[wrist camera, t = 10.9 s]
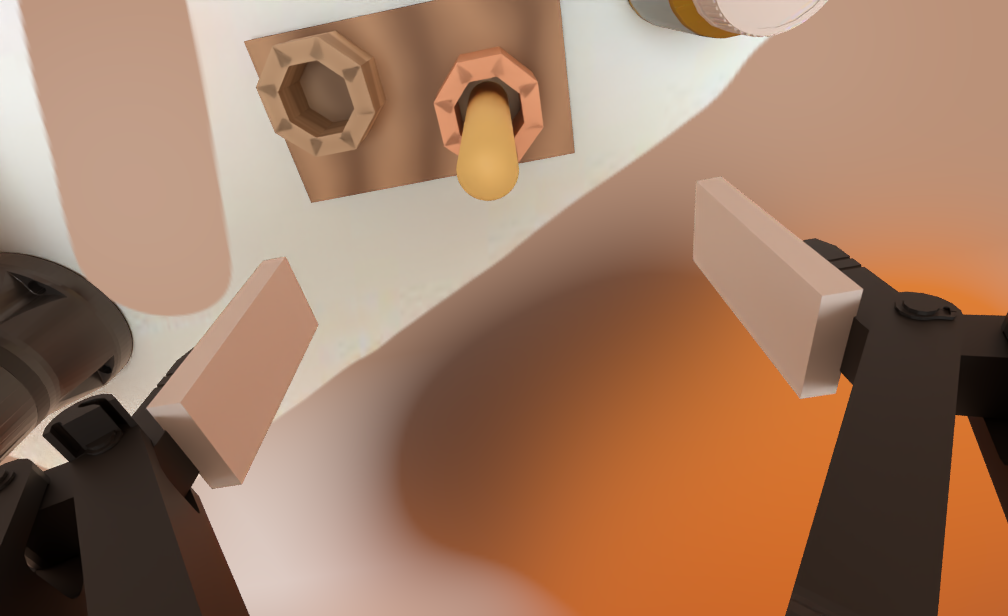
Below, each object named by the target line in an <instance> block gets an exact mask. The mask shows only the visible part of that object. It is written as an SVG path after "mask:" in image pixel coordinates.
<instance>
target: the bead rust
mask: <svg viewBox="0 0 1008 616" xmlns="http://www.w3.org/2000/svg"><path fill="white" fill-rule="evenodd" d="M493 77H498V78H499V79H501V80H502V81H503V82H505V83H506V84H507V85H509V86H510V87H511V88H513V89H514V90H515V91H517V92H518V97H519V104H520V110H519V112H518V113H517V115H516V116H515V118H514V119H513V121H512V127H513V133H514V140H515V146H516V153H517V159H518V162H519V161H520V160H521V158H522V157H523V156H524V154H525V153H526V151H527V150H528V149H529V147H530V146H531V144H532V143H533V141H534V140H535V139H536V137H537V136H538V134H539V133H540V132H541V130H542V129H543V127H544V126H543V119H542V111H541V103H540V96H539V88H538V82H537V80H536V78H535V76H534V74H533V73H532V71H530V70H529V69H528V68H526V67H525V66H524V65H523V64H521V63H520V62H519V61H517V60H516V59H515V58H514V57H512V56H511V55H510V54H508V53H507V52H506V51H505V50H503V49H502V48H501V47H494V48H489V49H484V50H480V51H475V52H470V53H465V54H460V55H459V56H458V58H457V60H456V62H455V63H454V65H453V67H452V69H451V70H450V72H449V74H448V75H447V77H446V79H445V81H444V82H443V84H442V86H441V88H440V89H439V91H438V94H437V96H436V98H435V101H434V107H435V111H436V115H437V119H438V123H439V127H440V131H441V135H442V139H443V143H444V147H446V148H447V149H449V150H450V151H452V152H453V153H455V154H456V155H459V150H460V144H461V139H462V133H463V128H464V121H462V116H461V112H460V107H459V102H458V100H459V98H460V96H461V95H462V93H463V91H464V90H465V88H466V86H467V85H468V83H469V82H473V81H478V80H483V79H488V78H493Z"/></svg>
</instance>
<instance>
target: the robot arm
mask: <svg viewBox="0 0 1008 616" xmlns="http://www.w3.org/2000/svg"><path fill="white" fill-rule="evenodd" d="M694 222H695V223H694V245H693V260H694V262H695V263H696V264H697V266H698V267H699V268H700V270H701V271H702V272H703V273H704V275H705V276H706V277H707V279H708V280H709V281H710V282H711V284H712V285H713V286H714V288H715V289H716V290H717V292H718V293H719V294H720V296H721V297H722V298H723V299H724V301H725V302H726V303H727V305H728V306H729V307H730V308H731V310H732V311H733V312H734V314H735V315H736V316H737V318H738V319H739V320H740V321H741V322H742V324H743V325H744V326H745V328H746V329H747V330H748V332H749V333H750V334H751V336H752V337H753V338H754V339H755V341H756V342H757V343H758V345H759V346H760V347H761V349H762V350H763V351H764V353H765V354H766V355H767V356H768V358H769V359H770V360H771V362H772V363H773V364H774V365H775V367H776V368H777V369H778V371H779V372H780V373H781V375H782V376H783V377H784V378H785V380H786V381H787V382H788V384H789V385H790V386H791V388H792V389H793V390H794V391H795V393H796V394H797V395H798V397H799V398H800V399H802V398H809V397H815V396H822V395H829V394H835V393H836V390H837V386H838V382H839V379H840V375H841V373H842V374H843V375H844V376H845V377H846V378H847V379H848V380H849V381H850V382H851V383H852V384H853V387H852V391H851V394H850V398H849V401H848V404H847V408H846V411H845V414H844V418H843V421H842V425H841V428H840V431H839V435H838V438H837V442H836V445H835V448H834V452H833V455H832V459H831V462H830V465H829V469H828V473H827V476H826V479H825V482H824V486H823V489H822V493H821V496H820V499H819V503H818V507H817V510H816V513H815V516H814V520H813V524H812V527H811V530H810V533H809V537H808V540H807V544H806V547H805V551H804V554H803V557H802V561H801V564H800V568H799V571H798V574H797V578H796V581H795V585H794V588H793V591H792V595H791V598H790V602H789V605H788V608H787V611H786V615H785V616H937V615H938V604H939V592H940V582H941V570H942V559H943V548H944V537H945V526H946V514H947V503H948V492H949V481H950V469H951V457H952V447H953V436H954V425H955V415H962V416H968V419H969V421H970V424H971V427H972V429H973V432H974V435H975V437H976V440H977V442H978V445H979V448H980V450H981V453H982V456H983V458H984V461H985V464H986V466H987V469H988V472H989V474H990V477H991V479H992V482H993V485H994V487H995V490H996V493H997V495H998V498H999V501H1000V503H1001V506H1002V509H1003V511H1004V514H1005V517H1006V519H1007V522H1008V313H1007V315H1006V316H995V315H963V314H962V312H961V310H960V309H958V308H957V307H956V306H955V305H953V304H952V303H950V302H948V301H946V300H944V299H942V298H939V297H936V296H932V295H928V294H924V293H915V292H898V291H896V290H895V289H893V288H892V287H891V286H890V285H888V284H887V283H886V282H884V281H883V280H881V279H880V278H879V277H877V276H876V275H875V274H873V273H872V272H871V271H869V270H868V269H866V268H865V267H861V264H859V263H858V262H857V261H856V260H854V259H850V256H849V255H847V254H846V253H844V252H843V251H842V250H841V249H839V248H838V247H837V246H835V245H832V244H829V243H826V242H824V241H821V240H818V239H816V238H815V239H808V240H803V241H802V240H801V239H800V238H798V237H797V236H796V235H795V234H793V233H792V232H791V231H789V230H788V229H787V228H786V227H785V226H783V225H782V224H781V223H779V222H778V221H777V220H776V219H774V218H773V217H772V216H771V215H769V214H768V213H767V212H766V211H764V210H763V209H762V208H761V207H759V206H758V205H757V204H756V203H754V202H753V201H751V200H750V199H749V198H748V197H747V196H746V195H744V194H743V193H742V192H740V191H739V190H738V189H737V188H735V187H734V186H733V185H732V184H730V183H729V182H728V181H727V180H725V179H724V178H723V177H722V176H721V177H715V178H710V179H704V180H699V181H696V194H695V221H694ZM317 327H318V323H317V321H316V319H315V317H314V315H313V312H312V310H311V308H310V306H309V304H308V302H307V300H306V298H305V296H304V294H303V292H302V290H301V287H300V285H299V283H298V281H297V279H296V277H295V275H294V273H293V271H292V269H291V267H290V265H289V262H288V260H287V258H286V257H280V258H275V259H270V260H264V261H262V263H261V264H260V265H259V266H258V268H257V269H256V270H255V272H254V273H253V274H252V275H251V277H250V278H249V279H248V280H247V282H246V283H245V284H244V285H243V287H242V288H241V289H240V290H239V292H238V293H237V294H236V295H235V297H234V298H233V299H232V301H231V302H230V303H229V304H228V306H227V307H226V308H225V309H224V311H223V312H222V313H221V314H220V316H219V317H218V318H217V319H216V321H215V322H214V323H213V325H212V326H211V327H210V328H209V330H208V331H207V332H206V333H205V335H204V336H203V337H202V338H201V340H200V341H199V342H198V343H197V345H196V346H195V347H194V348H192V349H191V350H190V351H189V352H187V353H186V354H185V355H184V356H182V357H181V358H180V359H178V360H177V361H176V362H175V364H174V365H173V366H172V367H171V369H170V370H169V371H168V372H167V374H166V377H163V379H162V380H161V381H160V382H159V383H158V385H157V388H154V390H153V391H152V392H151V393H150V395H149V396H148V397H147V398H146V399H145V401H144V402H143V403H142V404H141V406H140V407H139V408H138V409H137V411H136V412H135V413H134V414H133V415H132V417H131V416H130V415H129V413H128V412H127V411H126V410H125V409H124V408H123V406H122V405H121V404H120V403H119V402H118V401H117V399H116V398H115V397H114V396H113V395H112V394H100V395H96V396H92V397H89V398H87V399H84V400H82V401H80V402H77V403H76V404H74V405H72V406H71V407H69V408H67V409H65V410H64V411H63V412H61V413H60V414H59V415H57V416H56V417H55V418H54V419H53V420H52V421H51V422H50V423H49V424H48V425H47V426H46V428H45V430H44V433H43V435H42V436H43V437H44V438H45V439H46V440H47V441H48V442H49V443H50V444H51V445H52V446H53V447H55V448H56V449H57V450H58V451H59V452H60V453H61V454H62V455H63V456H64V457H65V458H66V459H67V460H68V461H69V462H67V463H65V464H62V465H59V466H57V467H54V468H51V469H49V470H46V471H42V470H41V469H39V467H37V466H36V465H35V464H34V463H33V462H32V461H30V460H29V459H17V460H14V461H11V462H8V463H5V464H3V465H1V466H0V616H250V615H249V614H248V611H247V609H246V606H245V604H244V601H243V599H242V597H241V594H240V592H239V590H238V587H237V585H236V582H235V580H234V578H233V575H232V573H231V571H230V568H229V566H228V564H227V561H226V559H225V557H224V554H223V552H222V550H221V547H220V545H219V543H218V540H217V538H216V536H215V533H214V531H213V528H212V526H211V524H210V521H209V519H208V517H207V514H206V512H205V509H204V507H203V505H202V502H201V500H200V498H199V496H198V495H197V493H196V492H195V491H194V490H193V489H192V488H191V486H192V484H193V483H194V481H195V479H196V477H197V476H198V474H200V475H201V476H202V477H203V478H204V480H205V481H206V482H207V484H208V485H209V486H210V487H211V488H212V489H215V488H221V487H227V486H234V485H241V484H242V483H243V481H244V479H245V477H246V475H247V473H248V471H249V469H250V466H251V464H252V462H253V460H254V458H255V456H256V454H257V452H258V450H259V448H260V446H261V443H262V441H263V439H264V437H265V435H266V433H267V431H268V429H269V427H270V425H271V423H272V421H273V419H274V416H275V414H276V412H277V410H278V408H279V406H280V404H281V402H282V400H283V398H284V396H285V393H286V391H287V389H288V387H289V385H290V383H291V381H292V379H293V377H294V375H295V373H296V371H297V368H298V366H299V364H300V362H301V360H302V358H303V356H304V354H305V352H306V350H307V348H308V346H309V343H310V341H311V339H312V337H313V335H314V333H315V331H316V329H317ZM131 352H132V338H131V333H130V330H129V327H128V325H127V323H126V321H125V319H124V317H123V316H122V314H121V313H120V311H119V310H118V309H117V307H116V306H115V305H114V304H113V303H112V301H111V300H110V299H109V298H108V297H107V296H106V295H105V294H104V293H102V292H101V291H100V290H99V289H98V288H96V287H95V286H94V285H93V284H91V283H90V282H88V281H87V280H85V279H84V278H82V277H81V276H79V275H77V274H76V273H74V272H72V271H70V270H68V269H66V268H64V267H62V266H59V265H57V264H55V263H52V262H49V261H46V260H43V259H40V258H36V257H32V256H28V255H22V254H15V253H0V462H1V461H2V460H3V459H4V458H5V457H6V456H7V455H8V454H9V453H10V452H11V451H12V450H13V449H14V448H15V447H16V446H17V445H18V444H19V443H20V442H21V441H22V440H23V439H24V438H25V437H26V436H27V435H28V434H29V433H30V432H31V431H32V430H33V429H34V428H35V427H36V426H37V425H38V424H39V423H40V422H41V421H42V420H43V419H45V418H46V417H47V416H48V415H49V414H51V413H53V412H55V411H57V410H59V409H61V408H63V407H65V406H67V405H68V404H70V403H72V402H74V401H76V400H78V399H80V398H82V397H84V396H86V395H88V394H90V393H92V392H94V391H96V390H98V389H99V388H101V387H103V386H104V385H106V384H107V383H108V382H109V381H111V380H112V379H113V378H114V377H115V376H116V374H117V373H118V372H119V371H120V370H121V369H122V368H123V367H124V366H125V365H126V363H127V362H128V360H129V358H130V355H131Z"/></svg>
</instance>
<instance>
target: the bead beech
mask: <svg viewBox="0 0 1008 616" xmlns="http://www.w3.org/2000/svg"><path fill="white" fill-rule="evenodd" d="M315 60H317V61H319V62H320V63H322V64H323V65H325V66H326V67H328V68H329V69H331V70H332V71H334V72H335V73H337V74H338V75H340V76H341V77H343V78H344V79H345V82H346V85H347V88H348V91H349V94H350V97H351V100H352V103H353V106H354V110H353V112H352V114H351V116H350V118H349V119H347V120H342V121H337V122H332V121H330V120H329V119H327V118H325V117H324V116H322V115H321V114H319V113H317V112H316V111H314V110H313V109H311V108H310V107H309V105H308V102H307V99H306V97H305V94H304V91H303V89H302V86H301V84H300V79H301V76H302V74H303V72H304V69H305V67H306V65H307V62H311V61H315ZM256 89H257V91H258V93H259V96H260V98H261V100H262V103H263V105H264V107H265V110H266V112H267V114H268V117H269V119H270V122H271V124H272V126H273V129H274V131H275V133H276V134H278V135H280V136H281V137H283V138H285V139H286V140H288V141H290V142H291V143H293V144H295V145H296V146H298V147H300V148H301V149H303V150H305V151H307V152H308V153H310V154H312V155H313V156H315V157H319V156H324V155H329V154H335V153H340V152H345V151H350V150H355V149H357V147H358V146H359V145H360V143H361V142H362V141H363V140H364V138H365V137H366V136H367V134H368V133H369V131H370V129H371V127H372V126H373V124H374V122H375V120H376V118H377V116H378V114H379V112H380V110H381V109H382V107H383V105H384V103H385V101H386V98H385V94H384V91H383V88H382V84H381V81H380V77H379V74H378V70H377V67H376V64H375V60H374V57H373V56H371V55H370V54H368V53H367V52H366V51H364V50H363V49H361V48H360V47H358V46H357V45H355V44H354V43H353V42H351V41H350V40H348V39H347V38H345V37H344V36H343V35H341V34H340V33H338V32H337V31H331V32H327V33H322V34H317V35H313V36H308V37H303V38H299V39H294V40H291V41H287V42H284V43H280V44H277V45H274V46H272V48H271V51H270V53H269V56H268V58H267V61H266V63H265V66H264V68H263V71H262V74H261V76H260V79H259V81H258V84H257V86H256Z"/></svg>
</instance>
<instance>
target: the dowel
mask: <svg viewBox="0 0 1008 616" xmlns="http://www.w3.org/2000/svg"><path fill="white" fill-rule="evenodd" d="M456 171H457V177H458V181H459V183H460V185H461V186H462V188H463V189H464V190H465V191H466V192H467V193H468V194H469V195H471V196H472V197H474V198H476V199H480V200H485V201H491V200H496V199H499V198H502V197H504V196H505V195H507V194H508V193H509V192H510V191H511V190H512V189H513V187H514V186H515V184H516V182H517V179H518V174H519V166H518V159H517V153H516V146H515V140H514V133H513V127H512V121H511V114H510V108H509V101H508V96H507V93H506V92H505V90H504V89H503V87H502V86H500V85H499V84H497V83H495V82H492V81H484V82H481V83H479V84H477V85H476V86H475V87H474V88H473V89H472V91H471V93H470V95H469V100H468V106H467V111H466V117H465V122H464V128H463V133H462V139H461V144H460V150H459V155H458V161H457V168H456Z"/></svg>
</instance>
